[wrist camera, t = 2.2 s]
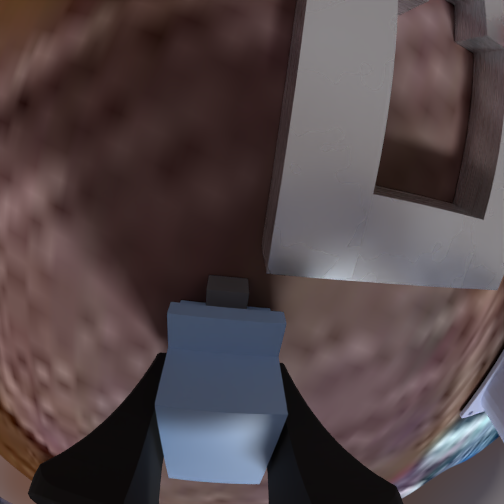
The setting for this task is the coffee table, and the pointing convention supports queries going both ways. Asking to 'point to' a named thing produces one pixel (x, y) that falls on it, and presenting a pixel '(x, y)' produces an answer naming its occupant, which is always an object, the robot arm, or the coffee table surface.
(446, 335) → the coffee table surface
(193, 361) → the block
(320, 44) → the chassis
